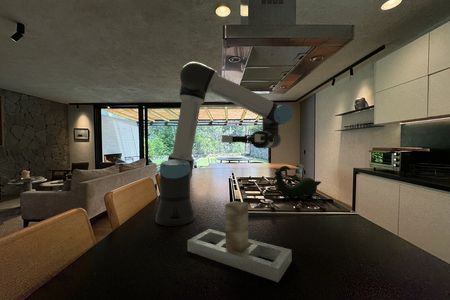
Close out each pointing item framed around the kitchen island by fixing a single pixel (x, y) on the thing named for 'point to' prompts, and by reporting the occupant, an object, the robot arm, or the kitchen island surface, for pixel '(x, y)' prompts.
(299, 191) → the toy figurine
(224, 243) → the grey flat slotted block
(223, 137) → the robot arm
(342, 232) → the kitchen island surface
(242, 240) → the peg
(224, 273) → the kitchen island surface
